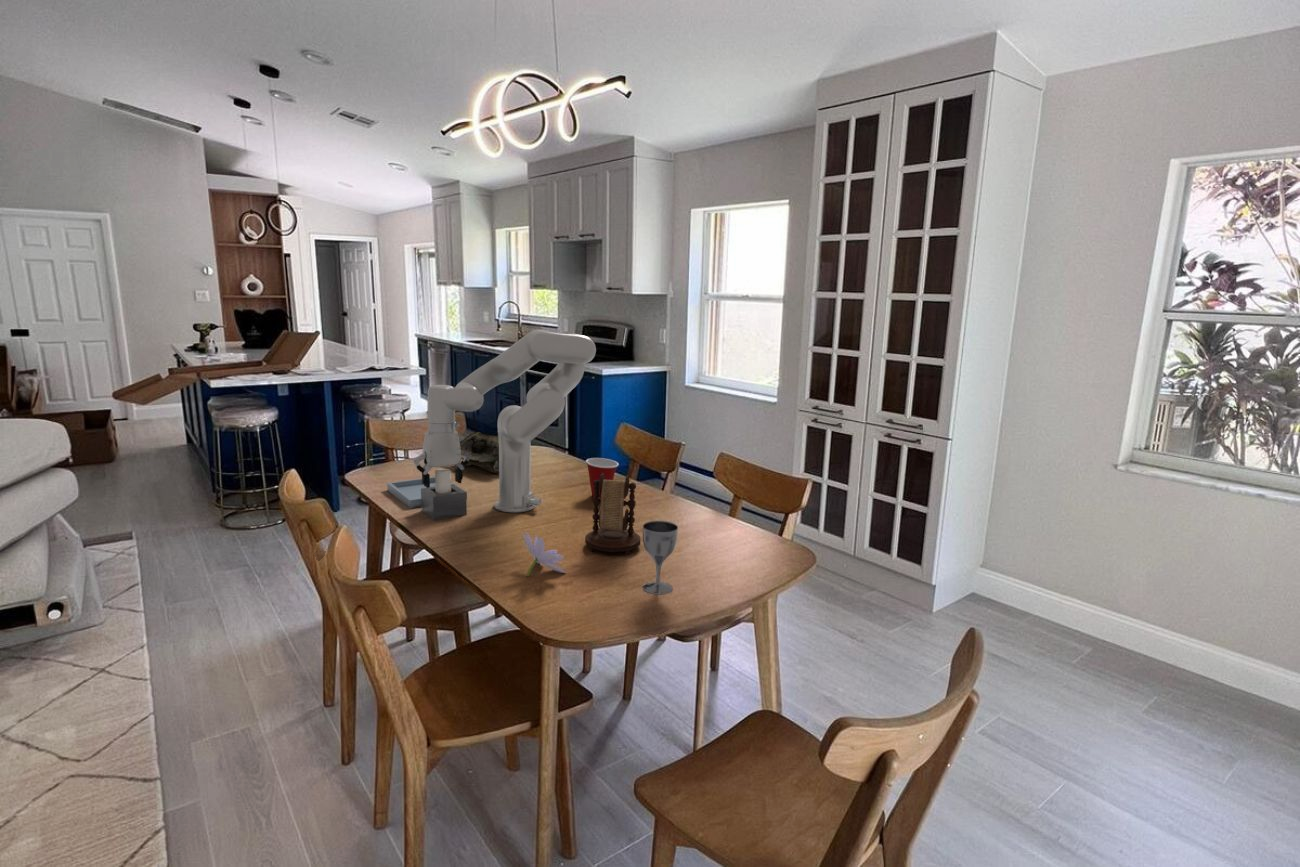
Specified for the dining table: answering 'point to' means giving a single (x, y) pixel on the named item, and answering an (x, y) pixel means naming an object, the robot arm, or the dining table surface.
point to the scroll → (613, 517)
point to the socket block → (443, 503)
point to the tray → (410, 491)
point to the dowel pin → (443, 481)
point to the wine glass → (659, 550)
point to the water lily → (542, 554)
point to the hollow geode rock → (482, 451)
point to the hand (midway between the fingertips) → (442, 484)
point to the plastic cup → (600, 470)
